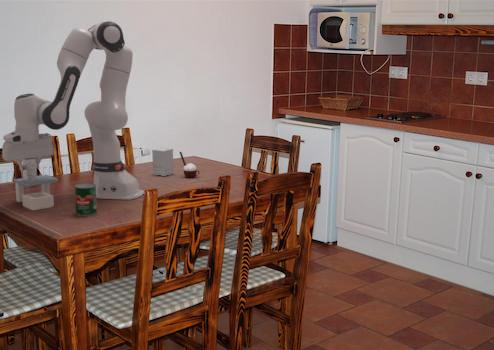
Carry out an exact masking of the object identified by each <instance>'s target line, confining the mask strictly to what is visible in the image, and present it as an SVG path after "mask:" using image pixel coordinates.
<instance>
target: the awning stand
mask: <svg viewBox="0 0 494 350" xmlns="http://www.w3.org/2000/svg"><path fill="white" fill-rule="evenodd" d="M13 180H14V183H15V197H16V200H15V201H16V202H18V203H21V202H22V207H24V208H26V209H28V210H31V211H37V210H43V209H49V208H54V207H55V202H54V195H53V194H51V189H50V188H51V186H50V185H51V184H52V183H57V182H59V178H57V177H54V176H52V175H49V174H41V175H40V174H39V175H37V181H31V182H26V181H24V180H23V177H21V178H15V179H13ZM39 185H41V191H38V192H33V193H27V194H25V188H28V187H33V186H39Z"/></svg>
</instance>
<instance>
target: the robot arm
mask: <svg viewBox="0 0 494 350" xmlns="http://www.w3.org/2000/svg"><path fill="white" fill-rule="evenodd" d="M94 50H98V51H99V50H100V51H102V50H103V51H104V53H105V61H104V65H103V69H102V72H101V76H100V81H99V88H100V93H101V94H100V101H99V100H98V101H93V102H91V103H88V104H87V106H86V107H85V109H84V118H85V119H86V121H87V124H88V128H89V131H90V135H91V140H92V146H93V161H92V170H93V184H96V199H103V200H124V201H125V200H135V199H139V198H140V197H142V196H144V195H145V191H144V190H142V189H140V186H139V182H138V180H137V179H136V177H134V176H133V175H132V174H130V173H129V172H128V171H127V170H126V169H125V167H126V166H127V162H124V163H123V162H122V160H121V142H120V140H119V138H118V136H117V132H116V131H118V130H122V129H123V128H124V127H126V125H127V123H128V119H129V116H128V112H127V110H126V95H127V94H126V93H127V87H128V83H129V79H130V74H131V72H132V65H133V56H134V55H133V51H132V49H131V48H130V47H129V46H128V45H126V43H125V39H124V34H123V29H122V27H121V26H120V25H119V24H117V23H116V22H114V21H101V22H99V23H97V24H94V25H93V26H91V27H90V28H88V29H86V28H83V27H76V28H73V29H72V30H71V31H70V33H69V34H68V35H67V38H66V39H65V40H64V42H63V44H62V46H61V48H60V51H59V53H58V56H57V60H56V67H57V70H58V72H59V73H60V82H59V85H58V88H57V91H56V93H55V96H54V99H53V100H52V101H50V100H46V99H44V98H41V97H39V96H37V95H36V94H35V93H25V94H24V93H23V94H20V95H18V96H16V98H15V100H14V105H13V110H14V111H13V112H14V120H15V126H14V127H15V128H14V129H15V130H13V131H12V132H9V133H7V134H4V135H3V136H2V137H3V138H2V139H3V141H4V142H3V144H2V149H1V150H2V151H1V156H2V159H3V160H4V161H6V162H11V161H15V162H16V163H17V165H18V166H19V170H20V172H21V171H22V172H23V170H25V166H23V165H22V159H29V158H35V159H36V169H40V163H41V162H42V159H43V158H44V157H52V156H53V154H54V146H53V135H51V134H50V133H49V132H45V133H40V128H39V127H40V125H44V126H46V127H47V128H49V129H50V130H55V131H58V130H61V129H63V128H64V127H66V126H67V124H68V123H69V121H70V110H71V109H70V107H71V104H72V101H73V98H74V95H75V92H76V90H77V87H78V84H79V81H80V78H81V76H82V73H83V71H84V69H85V66H86V64H87V63H88V60H89V57H90V54H91V53H92V51H94ZM143 194H144V195H143Z"/></svg>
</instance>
